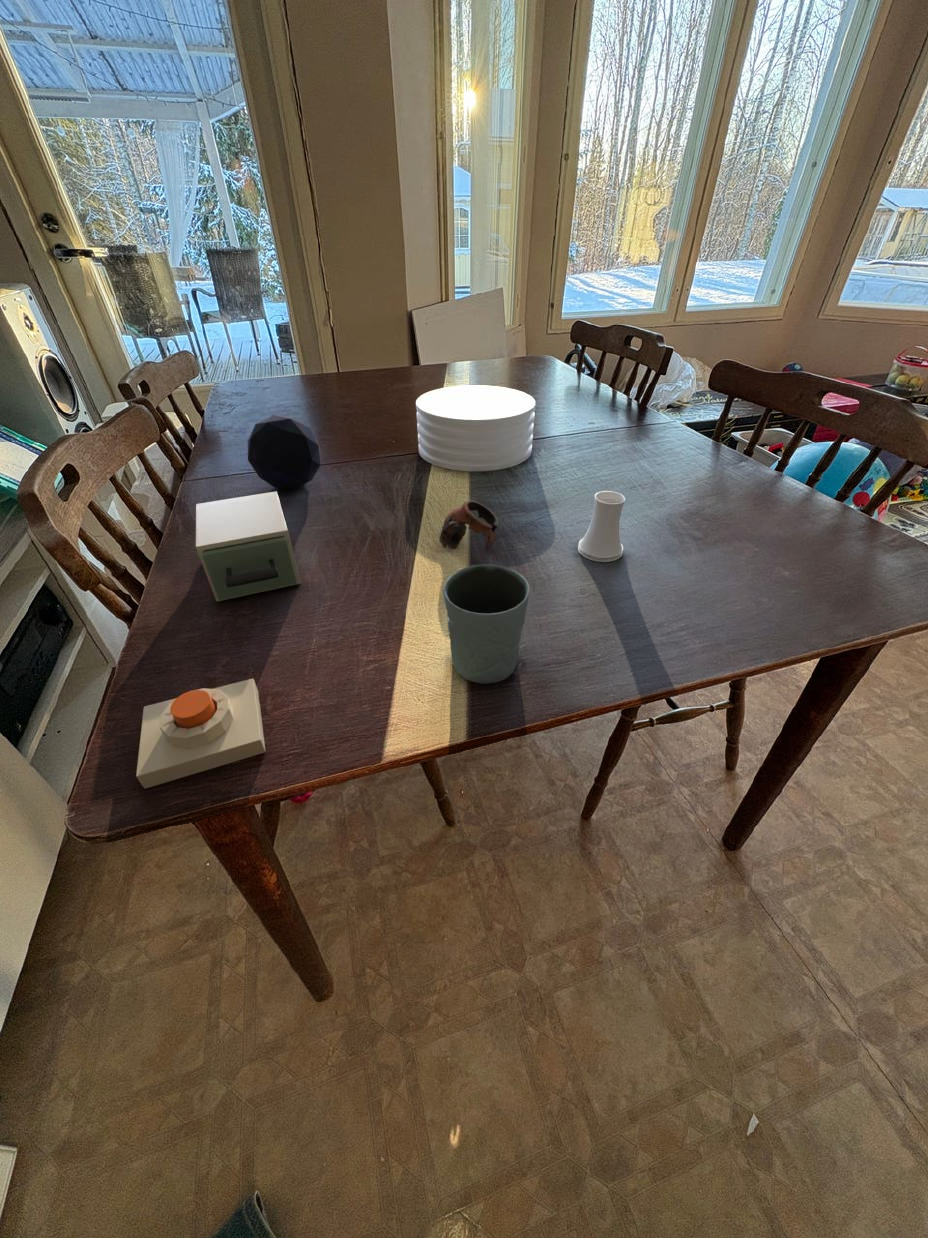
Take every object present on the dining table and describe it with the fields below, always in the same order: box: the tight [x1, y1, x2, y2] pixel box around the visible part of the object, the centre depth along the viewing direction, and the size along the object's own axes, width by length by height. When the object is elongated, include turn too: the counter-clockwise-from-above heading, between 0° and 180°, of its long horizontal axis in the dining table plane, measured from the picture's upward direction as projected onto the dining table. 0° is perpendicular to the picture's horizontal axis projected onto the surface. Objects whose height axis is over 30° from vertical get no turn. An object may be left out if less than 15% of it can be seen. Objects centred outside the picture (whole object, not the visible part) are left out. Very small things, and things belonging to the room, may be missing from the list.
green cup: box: [442, 563, 531, 685], centre depth 63 cm, size 10×10×12 cm
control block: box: [135, 677, 266, 790], centre depth 57 cm, size 12×10×4 cm
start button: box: [170, 689, 216, 729], centre depth 55 cm, size 4×4×2 cm
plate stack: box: [415, 384, 536, 472], centre depth 123 cm, size 28×28×12 cm
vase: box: [577, 490, 626, 563], centre depth 86 cm, size 8×8×10 cm
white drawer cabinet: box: [195, 490, 302, 602], centre depth 82 cm, size 15×13×10 cm
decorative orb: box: [247, 414, 322, 490], centre depth 107 cm, size 14×15×15 cm
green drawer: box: [202, 536, 298, 601], centre depth 79 cm, size 18×11×8 cm, turn 22°
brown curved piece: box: [439, 500, 500, 550], centre depth 89 cm, size 12×10×8 cm
